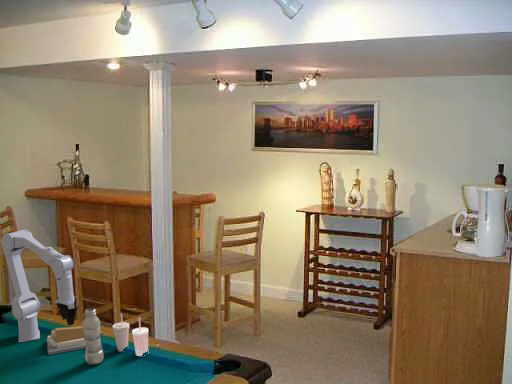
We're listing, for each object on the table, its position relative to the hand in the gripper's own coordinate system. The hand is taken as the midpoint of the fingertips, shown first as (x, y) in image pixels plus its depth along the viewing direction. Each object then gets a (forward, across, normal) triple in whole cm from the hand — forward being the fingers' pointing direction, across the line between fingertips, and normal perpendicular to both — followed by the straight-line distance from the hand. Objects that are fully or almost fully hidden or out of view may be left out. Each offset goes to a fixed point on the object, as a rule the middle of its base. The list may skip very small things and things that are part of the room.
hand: (68, 321), depth 221 cm
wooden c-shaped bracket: (+8, -3, 0) cm, 8 cm away
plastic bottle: (+10, +21, +3) cm, 23 cm away
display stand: (+10, -2, 0) cm, 10 cm away
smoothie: (+10, +16, +15) cm, 24 cm away
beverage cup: (+10, +24, +20) cm, 33 cm away
